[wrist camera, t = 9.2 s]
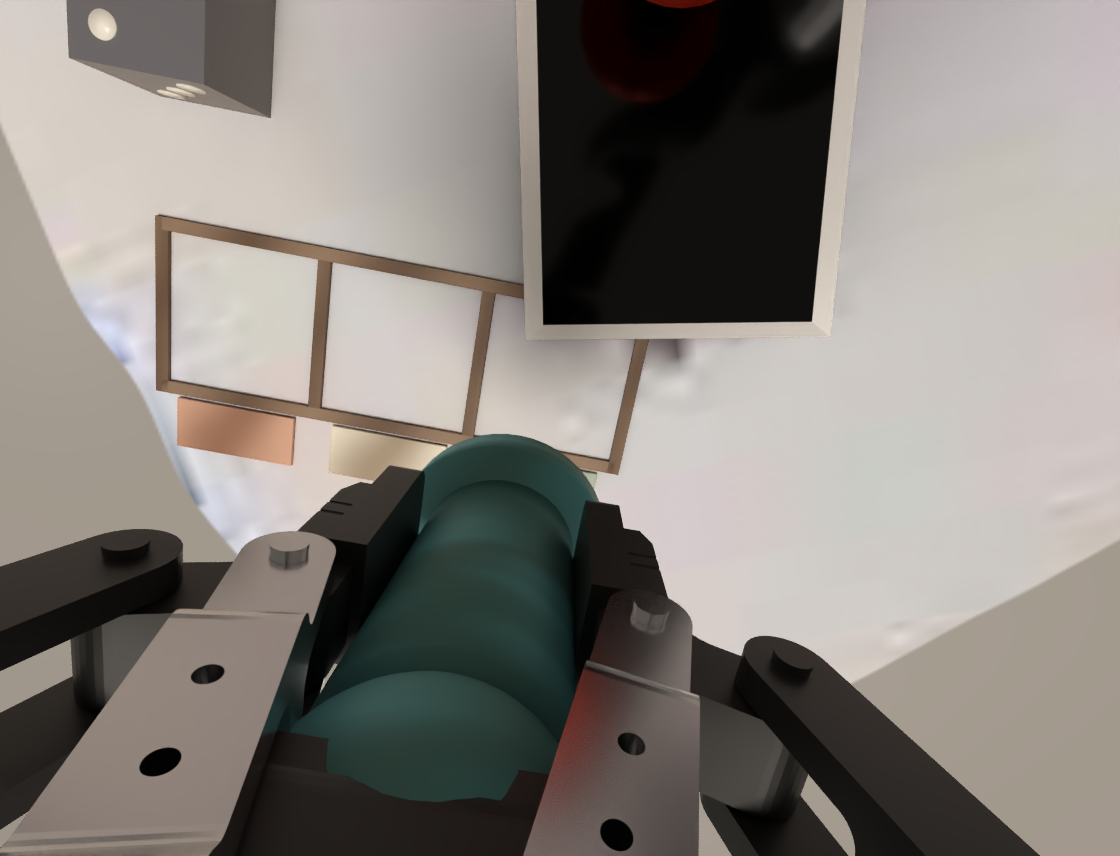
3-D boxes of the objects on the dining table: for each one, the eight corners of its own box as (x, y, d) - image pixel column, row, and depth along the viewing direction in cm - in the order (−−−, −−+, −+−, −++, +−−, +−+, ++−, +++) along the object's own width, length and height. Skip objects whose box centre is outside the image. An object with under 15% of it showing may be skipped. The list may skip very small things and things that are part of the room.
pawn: (622, 454, 14) (786, 934, 4) (582, 637, 15) (615, 1412, 5) (415, 416, 14) (-62, 799, 3) (391, 603, 15) (-22, 1327, 5)
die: (277, -8, 25) (205, -75, 20) (271, 119, 26) (202, 85, 21) (160, -31, 25) (59, -105, 20) (160, 97, 26) (66, 58, 21)
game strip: (654, 310, 28) (655, 310, 28) (606, 521, 31) (606, 522, 31) (158, 215, 27) (155, 215, 27) (159, 440, 30) (156, 441, 30)
